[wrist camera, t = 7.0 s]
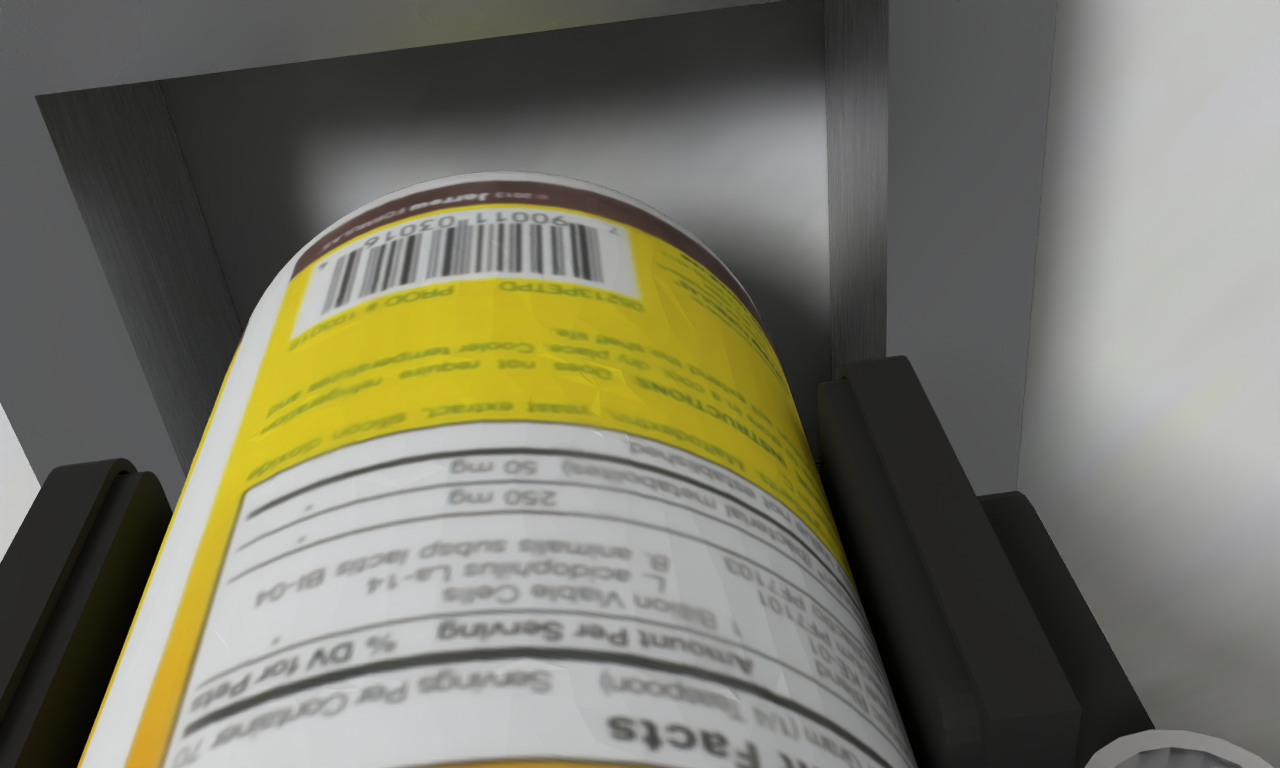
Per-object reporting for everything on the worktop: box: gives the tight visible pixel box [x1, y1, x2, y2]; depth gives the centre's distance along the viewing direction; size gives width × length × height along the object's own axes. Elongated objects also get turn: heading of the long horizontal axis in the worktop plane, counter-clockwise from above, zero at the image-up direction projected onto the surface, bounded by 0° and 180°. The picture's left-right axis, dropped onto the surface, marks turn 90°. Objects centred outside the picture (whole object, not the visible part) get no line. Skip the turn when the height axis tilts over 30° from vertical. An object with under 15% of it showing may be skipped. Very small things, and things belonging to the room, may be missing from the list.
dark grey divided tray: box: [0, 0, 1057, 513], centre depth 16 cm, size 18×10×3 cm, turn 6°
